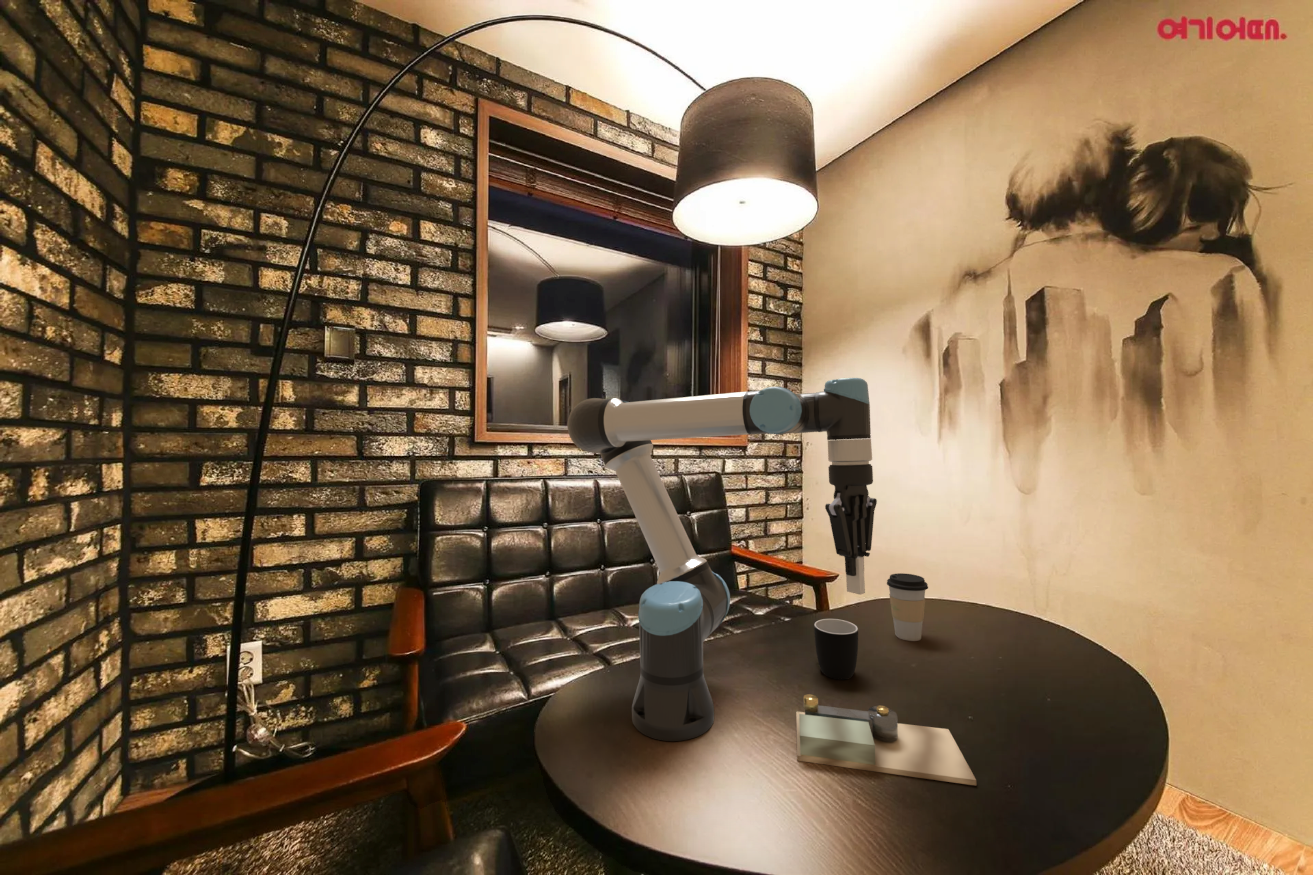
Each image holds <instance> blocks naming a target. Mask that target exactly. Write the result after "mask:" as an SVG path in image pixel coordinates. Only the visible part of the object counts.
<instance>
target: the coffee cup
mask: <svg viewBox="0 0 1313 875" xmlns="http://www.w3.org/2000/svg"><path fill="white" fill-rule="evenodd" d="M886 585H887V586H888V588H889V589H888V590H889V602H890V608H891V616H892V618H893V620H892V621H893V626H894V633H895V636H896V637H897V638H898V639H899V640H904V641H907V642H908V641H909V642H917V641H921V639H922V631H923V621H924V616H925V605H926V597H925V596H926V590H927V589H929V586H928V583H927V582H926V581H925V578H924V577H923V576H920V575H917V574H912V573H904V572H903V573H902V572H901V573H892V574H890V575H889V578H888V579H887V580H886Z"/></svg>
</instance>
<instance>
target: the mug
mask: <svg viewBox="0 0 1313 875" xmlns="http://www.w3.org/2000/svg"><path fill="white" fill-rule="evenodd" d="M813 630H814V631H813V633H814V644H815V651H816V656H817V657H816V658H817V661H818V666H819V668H820V671H821V673H822V674H823V675H824V676H825V677H828V678H831V679H834V680H848V679H851V678H852V677H853V675H854V674H855V671H856V667H857V661H858V652H859V651H858V650H859V628H858V626H857V625H856V624H854V623H852V622H850V621H848V620H843V619H838V618H823V619H822V618H821V619H819V620H817V621H815V622H814V626H813Z"/></svg>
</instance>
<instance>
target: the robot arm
mask: <svg viewBox="0 0 1313 875" xmlns="http://www.w3.org/2000/svg"><path fill="white" fill-rule="evenodd" d="M566 425H567V431H568V436H569V438H570V439H571V441H572V443H573V445H575V446H576V447H577V448H578V449H581V450H582V451H583V452H588V453H592V454H593V453H594V454H599V455H600V457H601V459H602V461H603V463H604V466H605V468H607V469H609V470H612V471H614V472H615V474H616V476H617V479H618V481H619V482H620V485H621V487H622V489H623V492H624V493H625V496H626V499H627V501H628V503H629V506H630V507H631V509H632V512H633V514H634V516H635V519H636V521H637V523H638V525H639V528H640V529H641V532H642V534H643V537H644V538H645V539H644V540H645V541H646V543H647V545H648V548H649V550H650V553H651V555H652V556H653V559H654V561H655V564H656V566H657V568H658V571H659V574H658V575H659V576H658V579H657V581H656V584H654V585H652V586H650V587H648V588H647V589H645V591H644V592H643V593H642V594H641V596H640V599H639V607H638V608H639V609H638V612H637V613H638V614H637V616H638V619H637V620H638V625H639V626H638V628H639V661H640V663H639V665H640V677H639V680H638V684H637V686H636V690H635V694H634V696H633V697H634V698H633V699H632V705H631V720H632V721H631V722H632V724H633V726H634V728H635V729H636V730H637V731H639V732H640V733H641V734H642V735H645V736H646V737H648V738H652V739H655V740H659V741H664V742H666V741H667V742H681V741H689V740H692V739H694V738H697V737H699V736H702V735H703V734H705V733H707V732H708V731H709V730H710V728H712V726H713V724H714V721H715V706H714V702H713V698H712V695H711V693H710V691H709V690H710V689H709V688H708V684H707V681H706V678H705V674H704V642H705V641H706V639H707V638H708V637H709V636H711V634H712V633H713V632H714V631H715V630H716V629H717V628H718V627H719V626H721V625H722V623H723V621H724V620H725V618H726V616H727V614H728V612H729V609H730V605H731V593H730V590H729V587H728V585H727V583H726V582H725V580H724V579H723V578H722V577H721V575H720V574H718V573H715V572H714V571H713V570H712V569H711V566H710V564H709V563H708V560H707V559H706V558H704V557H701V556H699V555H697V553H696V551H695V549H694V547H693V545H692V542H691V539H690V538H689V536H688V534H687V532H686V530H685V527H684V525H683V523H682V521H681V519H680V517H679V515H678V513H677V510H676V508H675V506H674V503H673V502H672V499H671V498H670V496H669V493H668V490H667V489H666V487H665V484H664V482H663V480H662V477H661V476H660V473H659V471H658V469H657V467H656V465H655V463H654V461H653V459H652V458H653V457H652V455H651V454H652V451H653V448H654V444H653V442H652V441H656V440H657V441H658V440H677V439H691V438H692V439H693V438H708V437H710V438H712V437H725V436H726V437H727V436H744V435H777V436H778V435H785V434H788V435H789V434H803V433H804V434H806V433H823V432H826V435H827V436H826V437H827V438H826V439H827V453H828V454H827V455H828V456H827V458H828V462H830V463H831V464H829V466H828V483H829V484H830V485H832V486H834V492H833V501H832V502H831V503H826V504H825V505H824V507H825V511H826V512H827V515H828V516H829V517H828V518H829V523H830V528H831V531H832V532H831V533H832V538H833V543H834V548H835V552H836V554H837V555H839V557H843V558H844V565H845V566H844V567H845V570H844V571H845V577H846V578H845V579H846V592H847V593H852V594H854V595H855V594H856V595H864V594H866V587H865V586H866V584H865V557H869V556H870V554H871V553H870V551H871V550H872V542H873V532H874V531H873V528H874V520H875V519H874V518H875V510H876V506H877V504H878V500H877V498H874V497H870V496H869V494H870V493H869V490H868V487H867V486H869V485H872V484H873V482H874V472H873V470H874V469H873V465H872V464H871V463H870V462H871V461H872V460H873V452H872V451H873V450H872V439H871V438H872V437H871V436H872V435H871V405H870V397H869V385H868V382H867V381H866V380H865V379H864V378H860V377H846V378H845V377H843V378H838V379H837V378H836V379H830V380H827V381H825V384H824V388H823V391H819V392H811V393H810V392H808V393H795V392H793V391H791V389H788V388H787V387H783V386H768V387H765V388H762V389H761V390H760V389H759V390H751V391H738V392H736V391H735V392H726V393H717V394H704V395H695V396H694V395H693V396H685V397H683V396H681V397H671V398H663V399H662V398H661V399H651V400H650V399H649V400H639V401H630V402H629V401H626V400H621V399H620V398H616V397H615V398H607V399H606V398H605V399H604V398H599V397H597V398H596V397H593V398H591V397H590V398H587V399H584V400H581V401H580V402H579V403H577V404H576V405H575V406H574V407H573V408H572V410H571V411H570V412H569V416H568V419H567V423H566Z"/></svg>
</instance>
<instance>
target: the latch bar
mask: <svg viewBox="0 0 1313 875" xmlns="http://www.w3.org/2000/svg"><path fill="white" fill-rule="evenodd" d="M803 708H804V712H805V715H813V716H821V717H830V718H838V719H847V720H855V721H864V722H869V726H870V729H871V733H872V737H874V738H875V739H877V740H880V741H883V742H894V741H896V740H897V739H898V714H897V712H896V711H895V710H893V709H891V708H890V707H887V706H885V705H876V706H875V705H874V706H870V707H869V708H868V711H867V710H859V709H851V708H845V707H844V708H843V707H834V706H828V705H827V706H826V705H819V698H818V696H817V695H815V694H812V693H811V694H810V693H809V694H804V695H803Z"/></svg>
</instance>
